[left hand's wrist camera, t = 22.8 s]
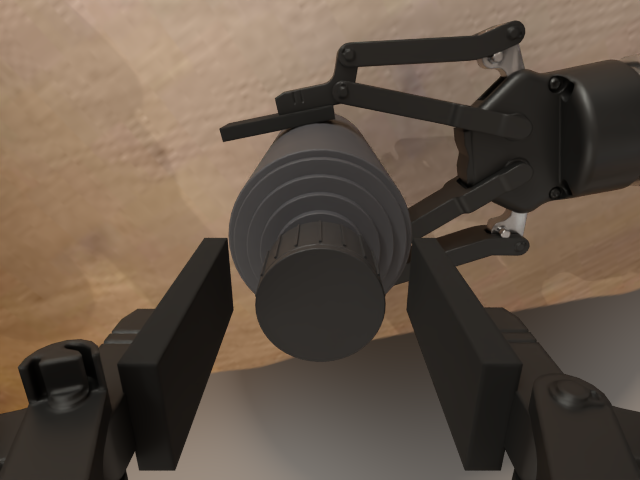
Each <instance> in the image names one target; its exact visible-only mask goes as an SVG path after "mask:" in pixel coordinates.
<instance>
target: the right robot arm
mask: <svg viewBox="0 0 640 480" xmlns="http://www.w3.org/2000/svg"><path fill="white" fill-rule="evenodd" d="M524 35H525V27H524V25H523V24H522V23H521V22H520V21H511V22H507V23H504V24H500V25H496V26H493V27H491V28H488V29H486V30H484V31H481V32H479V33H477V34H475V35H472V36H459V37H441V38H423V39H405V40H387V41H369V42H351V43H346V44H344V45H343V46H341V47H340V49H339V50H338V52H337V57H336V64H335V70H334V74H333V76H332V78H331V79H330V80H329V81H328V82H327V83H324V84H319V85H315V86H310V87H305V88H300V89H296V90H291V91H286V92H283V93H282V94H280V95H279V96H278V97H276V98H275V101H276V105H277V110H278V113H277V114H272V115H267V116H262V117H257V118H253V119H248V120H243V121H238V122H233V123H229V124H227V125H225V126H223V127H222V128H220V133H221V136H222V140H223V142H226V141H231V140H235V139H240V138H245V137H250V136H255V135H260V134H265V133H270V132H275V131H280V130H285V129H289V128H294V127H299V126H304V125H309V124H314V123H319V122H324V121H329V120H334V119H335V114H334V108H333V105H337V104H345V105H350V106H355V107H360V108H365V109H370V110H375V111H380V112H385V113H390V114H395V115H400V116H405V117H410V118H415V119H420V120H425V121H430V122H435V123H440V124H445V125H449V126H453V127H456V128H454V137H455V142H456V145H457V148H458V150H459V156H458V161H457V174H458V176H456V177H455V178H453V179H451V180H450V181H448V182H447V183H446V184H445V185H444V187H443V188H442V189H440V190H438V191H437V192H435V193H433V194H432V195H430V196H428V197H427V198H425V199H423V200H422V201H420V202H418V203H417V204H415V205H413V206H412V207H410V208H408V211H409V215H410V220H411V227H412V239H413V238H421V237H423V236H425V235H427V234H428V233H430V232H432V231H434V230H435V229H437V228H439V227H440V226H442V225H444V224H446V223H447V222H449V221H451V220H453V219H454V218H456V217H458V216H459V215H461V214H465V213H471V212H473V211H475V210H477V209H479V208H480V207H482V206H484V205H486V204H487V203H489V202H491V201H492V202H494V203H496V204H498V205H500V206H502V207H504V208H506V210H505V212H504V213H503V214H502V215H501V216H499V217H495V218H491V219H489V220H488V222H487V225H480V226H474V227H470V228H467V229H463V230H460V231H457V232H454V233H451V234H448V235H445V236H441V237H438V238H436V239H437V241H438V242H439V244H440V245H441V247H442V248H443V250H444V251H445V252H446V254H447V255H448V257H449V258H450V260H451V261H452V262H453V264H454V265H455V267H456V266H459V265H462V264H465V263H468V262H472V261H475V260H478V259H481V258H485V257H488V256H491V255H522V254H524V253H526V252H527V251H528V249H529V242H528V240H527V239H525V238H524V237H523V233H524V228H525V223H526V217H527V213H528V212H531V211H533V210H535V209H536V208H537V207H539V206H540V205H542V204H544V203H546V202H548V201H552V200H561V199H569V198H574V197H580V196H585V195H591V194H596V193H602V192H607V191H612V190H618V189H622V188H625V187H627V186H629V185H631V186H640V54H636V55H632V56H627V57H624V58H622V59H620V60H605V61H601V62H596V63H591V64H586V65H581V66H576V67H571V68H566V69H562V70H557V71H552V72H547V73H537V72H534V71H532V70H528V69H525V68H524V64H523V59H522V55H521V51H520V46H519V43H520V42H521V41H522V39H523V38H524ZM470 60H477V63H478V65H479V66H480V67H481V68H483V69H496V70H498V71H499V72H500V74H501V77H500V78H499V79H498V80H497V81H495V82H494V83H493V84H492V85H491V86H490V87H489V88H488V89H487V90H486V91H485V92H484V93H483V94H482V95H481V96H480V97H479V98H478V99H477V100H476V101H475V102H474V103H473V104H472V105H471V106H467V105H462V104H457V103H452V102H448V101H442V100H438V99H433V98H428V97H423V96H418V95H413V94H408V93H403V92H399V91H394V90H389V89H384V88H379V87H374V86H369V85H364V84H360V83H355V81H356V75H357V69H358V67H366V66H384V65H403V64H421V63H440V62H457V61H470ZM411 243H412V241H411ZM411 251H412V246H411V249H410V253H409V257H408V260H407V263H406V265H405V268H404V270H403V272H402V273H401V275H400V277H399V279H398V280H397V281H396V283H395V284H394V285H397V284H401V283H404V282H407V281H409V275H410V263H411Z"/></svg>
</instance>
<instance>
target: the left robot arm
mask: <svg viewBox="0 0 640 480" xmlns="http://www.w3.org/2000/svg"><path fill="white" fill-rule="evenodd" d="M232 313H233V298H232V286H231V275H230V263H229V251H228V239H227V238H204V239H203V241H202V242H201V244H200V245H199V247H198V248H197V250H196V251H195V252H194V254H193V255H192V257H191V258H190V260H189V261H188V262H187V264H186V265H185V267H184V268H183V270H182V271H181V273H180V274H179V275H178V277H177V278H176V280H175V281H174V283H173V284H172V285H171V287H170V288H169V290H168V291H167V293H166V294H165V296H164V297H163V298H162V300H161V301H160V303H159V304H158V306H157V307H156V308H155V309H137V310H135V311H134V312H132V313H131V314H129V315H127V316H126V317H124V318H123V319H121V321H120V322H119V323H118V324H117V326H116V327H115V328H114V329H113V331H112V334H109V336H108V337H107V338H106V339H105V341H104V344H101V346H100V347H99V348H98V346H97V345H96V344H95V343H93V342H92V341H87V340H82V339H77V340H66V341H62V342H58V343H54V344H51V345H48V346H46V347H44V348H41V349H39V350H37V351H35V352H34V353H32V354H31V355H30V356H28V357H27V358H25V359H24V360H23V362H22V363H21V364H20V365H19V366H18V369H19V373H20V376H21V379H22V382H23V385H24V389H25V392H26V395H27V398H28V401H29V405H28V408H25V409H21V410H17V411H12V412H8V413H3V414H0V480H128V477H127V473H126V468H127V466H128V464H129V462H130V460H131V458H132V456H133V454H134V452H135V453H136V457H137V462H138V467H139V470H175V469H176V467H177V464H178V461H179V458H180V455H181V453H182V450H183V447H184V445H185V442H186V439H187V436H188V434H189V431H190V428H191V425H192V422H193V420H194V417H195V414H196V411H197V409H198V406H199V403H200V401H201V398H202V395H203V392H204V390H205V387H206V384H207V381H208V378H209V376H210V373H211V370H212V368H213V365H214V362H215V359H216V357H217V354H218V351H219V348H220V346H221V343H222V340H223V337H224V335H225V332H226V329H227V326H228V324H229V321H230V318H231V315H232ZM407 313H408V315H409V318H410V321H411V324H412V326H413V329H414V332H415V335H416V337H417V340H418V343H419V346H420V348H421V351H422V354H423V357H424V359H425V362H426V365H427V368H428V370H429V373H430V376H431V378H432V381H433V384H434V387H435V390H436V392H437V395H438V398H439V401H440V403H441V406H442V409H443V412H444V414H445V417H446V420H447V423H448V425H449V428H450V431H451V434H452V436H453V439H454V442H455V445H456V447H457V450H458V453H459V455H460V458H461V461H462V464H463V467H464V469H465V470H501V467H502V462H503V457H504V452H505V450H506V452H507V454H508V456H509V458H510V460H511V462H512V464H513V466H514V473H513V477H512V480H640V412H636V411H632V410H627V409H622V408H618V407H615V406H612V405H611V403H610V401H609V400H608V399H607V397H606V396H605V394H604V393H602V392H601V391H600V390H599V389H597V388H596V387H595V386H593V385H592V384H590V383H588V382H586V381H584V380H582V379H580V378H577V377H573V376H570V375H566V374H564V373H563V372H562V371H561V370H560V368H559V367H558V366H557V365H556V364H555V362H554V361H553V360H552V359H551V357H550V356H549V355H548V354H547V352H546V351H545V350H544V349H543V347H542V346H541V345H540V344H539V343H538V342H536V339H535V337H534V336H533V335H532V334H531V333H530V332H528V329H527V328H526V326H525V325H524V324H523V323H522V321H521V320H520V319H519V318H518V317H516V316H515V315H513V314H512V313H510V312H509V311H507V310H506V309H504V308H484V307H483V306H482V304H481V303H480V301H479V300H478V298H477V297H476V296H475V294H474V293H473V291H472V290H471V288H470V287H469V285H468V284H467V283H466V281H465V280H464V278H463V277H462V275H461V274H460V273H459V271H458V270H457V268H456V267H455V265H454V264H453V262H452V261H451V260H450V258H449V257H448V255H447V254H446V252H445V251H444V250H443V248H442V247H441V245H440V244H439V242H438V241H437V239H436V238H413V239H412V251H411V263H410V275H409V286H408V298H407Z"/></svg>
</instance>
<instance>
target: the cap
mask: <svg viewBox="0 0 640 480" xmlns="http://www.w3.org/2000/svg"><path fill="white" fill-rule="evenodd" d="M260 276H261V277H260V280H259V284H258V287H257V291H256V294H255V297H256V303H255V307H256V315H257V319H258V322H259V324H260V327H261V329H262V330H263V332H264V334H265V335H266V336H267V338H268V339H269V340H270V341H271V342H272V343H273V344H274V345H275V346H276V347H277V348H279V349H280V350H282V351H283V352H285V353H287V354H289V355H291V356H293V357H296V358H299V359H302V360H307V361H315V362H326V361H334V360H338V359H342V358H345V357H348V356H350V355H352V354H354V353H356V352H358V351H359V350H361V349H362V348H363V347H365V346H366V345H367V344H368V343H369V342H370V341H371V340H372V339H373V338H374V336H375V335H376V333H377V332H378V330H379V328H380V326H381V324H382V321H383V318H384V314H385V291H384V288H383V284H382V281H381V278H380V272H379V269H378V265H377V262H376V259H375V255H374V252H373V250H372V251H371V250H370V248H369V247H368V245H367V244H366V242H365V241H364V240H363V239H362V236H361V235H360V234H359V235H358V234H356V233H355V232H354V231H352V230H350V229H349V228H347V227H345V226H343V224H341V225H339V224H336V223H331V222H322V221H321V220H319V221H318V222H310V223H305V224H301V225H300V224H298V225H297V226H296V227H294V228H292V229H290V230H289V231H287V232H286V233H284V234H283V235H280V236H279V238H278V240H277V241H276V242H275V243H274V245H273V246H272V248H271V250H270V251H267V254H266V258H265V261H264V264H263V268H262V271H261V275H260Z"/></svg>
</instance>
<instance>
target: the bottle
mask: <svg viewBox="0 0 640 480" xmlns="http://www.w3.org/2000/svg"><path fill="white" fill-rule="evenodd" d="M319 220H321V221H322V222H331V223H336V224H339V225H341V224H343V226H345V227H347V228H349V229H350V230H352V231H354V232H355V233H356V234H358V235H359V234H360V235H361V236H362V239H363V240H364V241H365V242H366V244H367V245H368V247H369V248H370V250H371V251H372V250H373V252H374V255H375V259H376V262H377V265H378V269H379V272H380V278H381V281H382V284H383V288H384V291H385V294H386V293H387V292H388V291H389V290H390V289H391V288H392V287H393V286H394V284H395V283H396V281H397V280H398V279H399V277H400V275H401V273H402V272H403V270H404V268H405V265H406V263H407V260H408V257H409V253H410V249H411V241H412V227H411V220H410V215H409V211H408V208H407V205H406V203H405V200H404V198H403V197H402V195H401V193H400V191H399V189H398V188H397V186H396V185H395V183H394V182H393V180H392V179H391V177H390V176H389V174H388V173H387V171H386V170H385V169H384V167H383V166H382V164H381V163H380V161H379V160H378V158H377V157H376V155H375V154H374V152H373V151H372V149H371V148H370V146H369V145H368V143H367V142H366V140H365V139H364V137H363V136H362V134H361V133H360V131H359V130H358V129H357V128H356V127H355V126H354V125H353V124H352V123H351V122H350V121H348V120H347V119H345V118H344V117H342V116H339V115H337V114H335V119H334V120H329V121H324V122H319V123H314V124H309V125H304V126H299V127H294V128H289V129H285V130H281V132H280V133H279V135H278V136H277V138H276V139H275V141H274V142H273V144H272V145H271V147H270V148H269V150H268V151H267V153H266V154H265V156H264V157H263V159H262V160H261V162H260V163H259V165H258V166H257V168H256V169H255V171H254V172H253V174H252V175H251V177H250V178H249V180H248V181H247V183H246V184H245V186H244V187H243V189H242V190H241V192H240V194H239V196H238V198H237V200H236V202H235V204H234V207H233V210H232V213H231V218H230V223H229V245H230V251H231V255H232V259H233V261H234V264H235V266H236V269H237V271H238V272H239V274H240V276H241V278H242V279H243V281H244V282H245V283H246V285H247V286H248V287H249V288H250V289H251V291H252V292H253V293H254V294H256V291H257V287H258V284H259V280H260V277H261V276H260V275H261V271H262V268H263V264H264V261H265V258H266V254H267V251H270V250H271V248H272V246H273V245H274V243H275V242H276V241H277V240H278V238H279V236H280V235H283V234H284V233H286V232H287V231H289V230H290V229H292V228H294V227H296V226H297V225H298V224H300V225H301V224H305V223H310V222H318V221H319Z"/></svg>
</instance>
